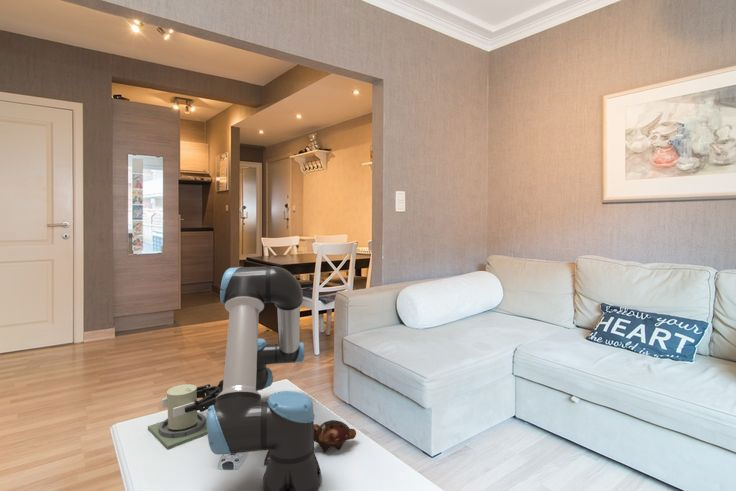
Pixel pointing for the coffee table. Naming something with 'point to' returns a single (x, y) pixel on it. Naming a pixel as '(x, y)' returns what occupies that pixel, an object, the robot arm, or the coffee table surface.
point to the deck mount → (178, 432)
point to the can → (178, 398)
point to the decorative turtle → (332, 434)
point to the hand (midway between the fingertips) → (167, 408)
